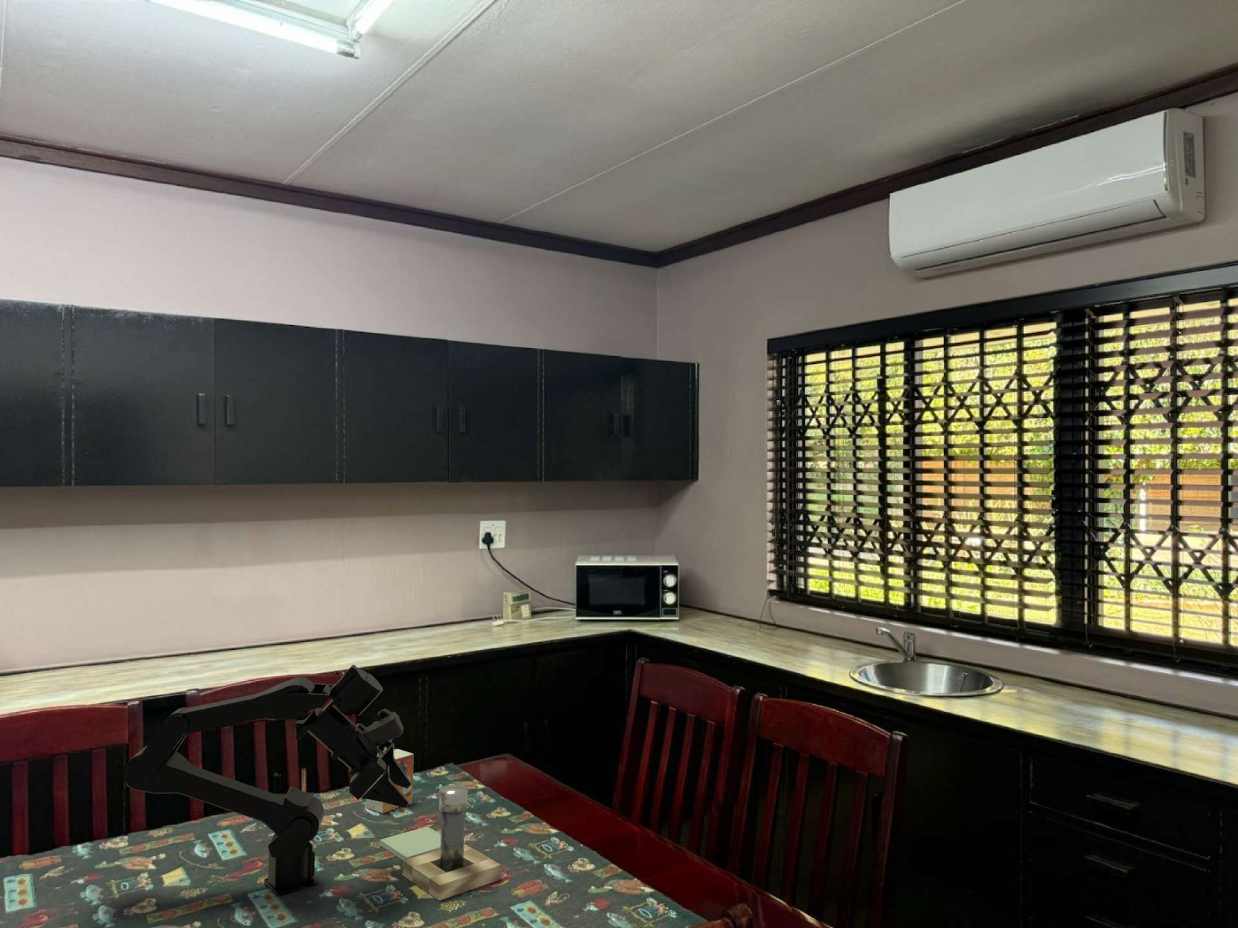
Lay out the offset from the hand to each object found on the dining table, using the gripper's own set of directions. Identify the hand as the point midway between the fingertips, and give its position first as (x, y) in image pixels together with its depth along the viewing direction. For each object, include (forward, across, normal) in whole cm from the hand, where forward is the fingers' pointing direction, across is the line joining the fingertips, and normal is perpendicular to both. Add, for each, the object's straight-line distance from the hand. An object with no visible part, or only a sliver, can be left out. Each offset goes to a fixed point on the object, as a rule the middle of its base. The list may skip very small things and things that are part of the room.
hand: (408, 795), depth 154 cm
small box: (+6, +34, +14) cm, 38 cm away
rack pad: (+10, +13, +9) cm, 19 cm away
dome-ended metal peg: (+15, -1, +5) cm, 16 cm away
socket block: (+15, -1, +5) cm, 16 cm away
